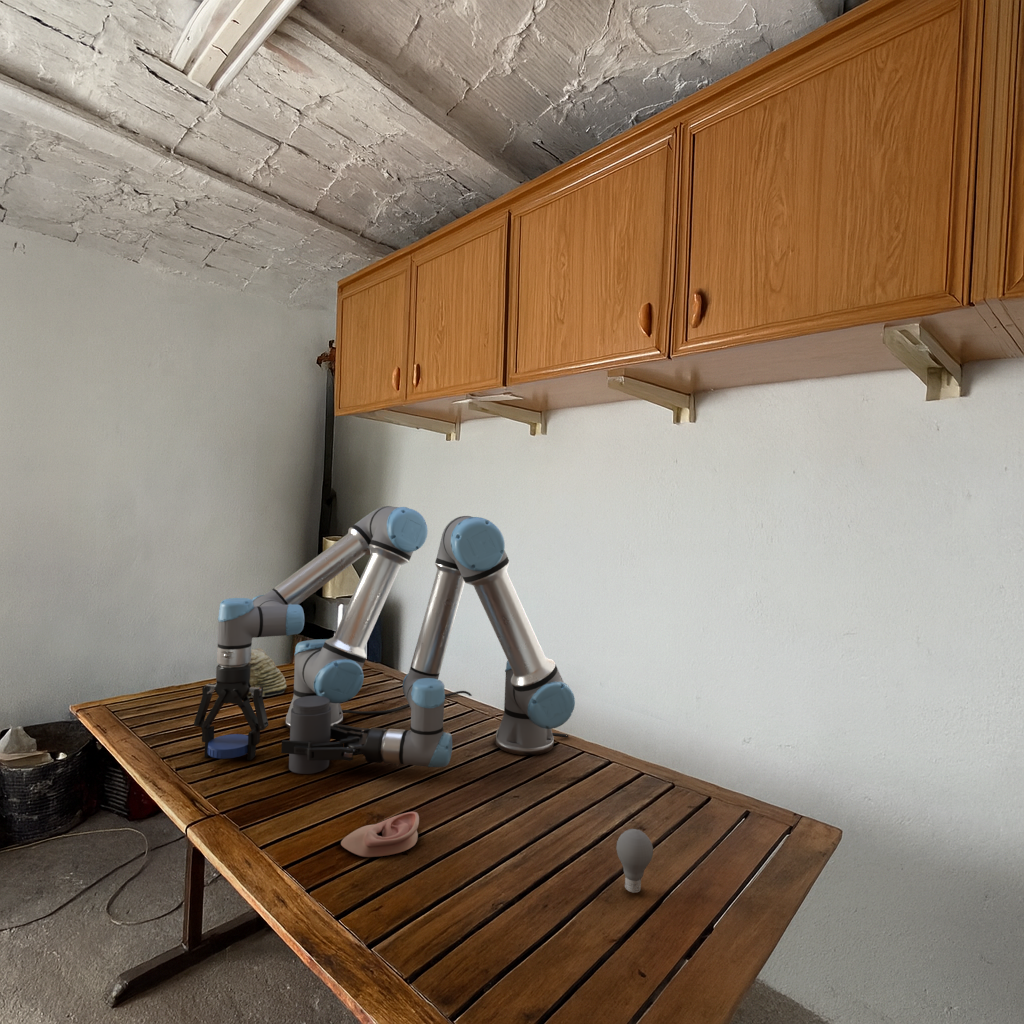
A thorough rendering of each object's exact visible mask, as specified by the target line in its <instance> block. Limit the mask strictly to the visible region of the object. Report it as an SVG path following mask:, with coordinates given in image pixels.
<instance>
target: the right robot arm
mask: <svg viewBox="0 0 1024 1024" xmlns="http://www.w3.org/2000/svg"><path fill="white" fill-rule="evenodd" d="M505 546H506V544H505V538H504V535H503V533H502V532H501V529H500V528H499V527H498V526H497V525H496V524H495V523H493V522H492V521H491V520H489V519H487V518H484V517H479V516H470V515H461V516H457V517H455V518H454V519H451V520H450V521H449V522H448V523H447V524H446V525H445V527H444V529H443V531H442V533H441V537H440V542H439V545H438V549H437V555H436V558H435V562H434V565H435V567H436V569H437V570H436V573H435V578H434V580H433V583H432V587H431V590H430V591H431V592H430V594H429V599H428V602H427V606H426V609H425V613H424V616H423V621H422V623H421V627H420V630H419V635H418V639H417V641H416V645H415V649H414V652H413V656H412V660H411V664H410V668H409V670H408V673H407V674H406V675H405V676H404V677H403V680H402V692H403V695H404V697H405V699H406V701H407V704H409V708H410V730H409V729H401V728H400V729H399V728H388V729H386V728H383V727H371V728H369V727H358V726H352V725H346V724H342V723H341V724H333V726H331V729H330V742H328V743H319V744H312V742H311V741H309V742H302V741H290V739H289V740H288V739H287V740H286V739H283V740H281V746H280V748H281V750H280V753H281V754H288V755H289V754H300V755H308V760H329V761H348V762H352V761H353V760H354V756H359V755H363V756H364V759H365V761H366V762H367V763H378V764H381V763H384V764H392V765H394V766H399V765H408V766H414V767H415V766H418V767H425V768H426V767H427V768H445V767H447V766H448V765H449V764H450V762H451V760H452V759H451V758H452V755H453V754H452V753H453V735H452V734H451V733H448V732H445V731H444V715H445V700H446V696H445V694H446V693H445V689H446V688H445V683H444V682H443V681H442V680H440V679H439V677H440V674H441V669H442V665H443V663H444V660H445V659H444V658H445V655H446V652H447V649H448V645H449V641H450V638H451V634H452V630H453V626H454V623H455V619H456V615H457V613H458V608H459V604H460V602H461V597H462V594H463V591H464V587H465V584H468V585H470V586H472V587H474V590H475V592H476V594H477V596H478V598H479V602H480V603H481V606H482V607H483V610H484V612H485V614H486V616H487V618H488V621H489V622H490V625H491V627H492V629H493V631H494V633H495V636H496V638H497V640H498V642H499V644H500V647H501V649H502V650H503V653H504V654H505V655H504V656H505V657H506V663H505V670H504V672H505V679H504V680H505V682H504V703H503V705H504V707H503V715H502V718H501V721H500V724H499V726H498V728H497V730H496V732H495V745H496V746H497V748H499V749H500V750H502V751H504V752H506V753H509V754H514V755H520V756H538V755H542V754H546V753H548V752H550V751H552V749H553V748H554V739H555V738H554V737H556V738H558V737H559V738H565V739H568V737H569V734H566V733H559V732H553V731H552V730H553V729H556V728H560V727H561V726H562V725H564V724H565V723H566V722H568V720H569V719H570V718H571V716H572V715H573V712H574V710H575V706H576V699H575V694H574V691H573V690H572V688H571V687H570V686H569V684H567V683H566V682H564V679H563V677H562V675H561V673H560V671H559V669H558V666H557V664H556V662H555V660H553V659H552V658H548V657H547V656H546V655H545V652H544V650H543V648H542V646H541V644H540V642H539V639H538V637H537V635H536V633H535V630H534V629H533V626H532V624H531V621H530V620H529V617H528V615H527V613H526V610H525V609H524V606H523V604H522V601H521V600H520V598H519V595H518V592H517V590H516V588H515V586H514V584H513V582H512V579H511V577H510V575H509V572H508V568H509V565H510V559H509V557H508V555H507V553H506V550H505V548H506V547H505ZM566 735H567V736H566ZM331 740H335V741H331Z"/></svg>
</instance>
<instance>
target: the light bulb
mask: <svg viewBox="0 0 1024 1024" xmlns="http://www.w3.org/2000/svg"><path fill="white" fill-rule="evenodd" d="M615 849H616V854H617V857H618V859H619V861H620V863H621V865H622V867H623V873H624V874H623V875H624V876H625V878H624V888H625V890H627V891H628V892H630V893H634V894H635V893H639V892H640V891H641V889H642V887H641V886H642V879H643V877H644V875H645V871H646V868H647V867H648V866H649V864H650V863H651V861H652V859H653V855H654V847H653V843H652V841H651V838H649V836H648V835H647V834H646V833H645V832H643V831H642V830H641V829H636V828H629V829H627V830H625V831H623V832H622V833H621V834H620V835H619V837H618V839H617V841H616V847H615Z"/></svg>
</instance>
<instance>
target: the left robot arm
mask: <svg viewBox="0 0 1024 1024" xmlns="http://www.w3.org/2000/svg"><path fill="white" fill-rule="evenodd" d="M428 531H429V530H428V525H427V522H426V519H425V518H424V516H423V515H422V514H421V513H420V512H419V511H417V510H415V509H413V508H409V507H407V506H390V505H387V506H385V505H384V506H380V507H378V508H375V509H374V510H373V511H371V512H370V513H368V514H367V515H365V516H363V517H362V518H361V519H360V520H358V521H357V522H356V523H355V524H353V525H351V526H350V527H349V528H348V532H347V533H346V534H345V535H344V536H343V537H341V538H340V539H338V540H337V541H336V542H334V543H333V544H332V545H330V546H329V547H328V548H327V549H325V550H324V551H322V552H321V553H320V554H318V555H317V556H316V557H314V558H313V559H311V560H310V561H309V562H307V563H306V564H304V565H303V566H302V567H300V568H299V569H298V570H296V571H295V572H294V573H292V574H291V575H290V576H288V577H287V578H286V579H284V580H282V581H281V582H280V583H279V584H277V585H276V586H274V587H273V588H272V589H270V590H269V591H268V592H265V594H260V595H256V596H254V597H253V598H248V597H232V598H225V599H223V600H222V601H221V602H220V603H219V610H218V616H217V646H216V647H217V648H216V649H217V650H216V664H217V666H216V668H215V669H216V670H215V684H212V683H207V684H206V685H203V686H202V688H201V691H202V693H201V694H202V696H201V700H200V702H199V706H198V709H197V712H196V715H195V718H194V722H193V725H194V727H199V728H200V729H201V742H202V743H204V754H203V755H204V758H209V757H210V756H209V755H208V753H207V751H208V743H209V741H211V740H212V739H214V738H215V726H214V725H213V723H214V720H215V719H216V717H217V716H218V714H219V712H220V711H221V709H222V707H223V706H224V705H225V704H233V705H236V706H238V708H239V709H240V710H241V713H242V714H243V716H244V718H245V720H246V722H247V724H248V726H249V728H250V731H249V732H248V733H247V735H248V753H247V754H246V756H247V758H246V759H247V761H251V760H253V759H254V758H256V754H257V753H256V751H257V745H258V744H259V743H260V741H261V731H264V730H265V729H266V728H267V727H269V724H270V723H269V720H268V715H267V711H266V706H265V703H264V697H262V694H263V687H261V686H260V687H258V688H256V687H251V685H250V671H251V665H250V664H249V662H250V661H251V649H252V641H253V639H254V638H256V639H257V638H267V637H283V636H287V637H288V636H292V635H298V634H300V633H301V632H302V631H303V630H304V628H305V627H304V626H305V613H304V608H303V607H302V605H300V604H301V603H302V602H304V601H305V600H306V599H308V598H309V597H310V596H312V595H313V594H314V593H316V592H317V591H318V590H320V589H321V588H323V587H324V586H325V585H326V584H328V583H329V582H330V581H332V580H333V579H334V578H335V577H337V576H338V575H339V574H341V573H342V572H343V571H345V570H347V569H348V567H350V566H351V565H353V564H354V563H355V562H356V561H358V560H359V559H361V558H362V557H363V556H369V558H368V561H367V563H366V565H365V568H364V569H363V571H362V574H361V576H360V578H359V580H358V582H357V584H356V587H355V589H354V591H353V594H352V596H351V598H350V600H349V602H348V604H347V607H346V608H345V611H344V613H343V616H342V617H341V620H340V622H339V624H338V627H337V628H336V631H335V632H334V635H333V637H330V638H323V639H322V638H320V639H307V640H303V641H299V642H297V644H296V645H295V650H294V653H293V654H294V655H293V656H294V672H293V673H294V674H293V695H292V696H293V697H292V699H291V702H290V704H289V708H288V711H287V713H286V715H285V726H286V728H287V729H289V730H290V722H291V709H292V708H293V702H294V700H296V699H298V698H301V697H305V696H323V697H326V698H328V699H329V701H330V704H329V706H330V707H331V726H333V724H341V725H342V723H343V722H344V714H353V715H381V714H387V713H388V714H389V713H394V712H397V711H400V710H403V709H406V708H408V707H409V708H410V706H409V703H407V704H404V705H402V706H401V705H400V706H399V707H396V708H392V709H384V710H373V711H372V710H371V711H365V710H363V711H361V710H360V711H358V710H349V709H342V706H341V704H342V703H346V702H348V701H350V700H352V699H353V698H354V697H356V695H357V694H359V692H360V690H361V689H362V687H363V684H364V680H365V675H364V670H363V667H364V666H365V665H364V664H365V662H366V660H367V658H368V656H367V654H366V651H365V648H366V646H367V643H368V641H369V639H370V636H371V635H372V632H373V630H374V628H375V625H376V623H377V621H378V619H379V616H380V614H381V612H382V610H383V608H384V605H385V603H386V601H387V599H388V596H389V595H390V592H391V589H392V587H393V584H394V583H395V580H396V578H397V576H398V574H399V571H400V570H401V567H402V566H404V565H405V564H408V563H409V562H410V560H411V558H412V556H413V554H414V552H416V551H418V550H419V549H421V548H422V547H423V546H424V545H425V543H426V540H427V538H428ZM249 692H250V693H251V696H252V702H253V706H254V707H253V706H252V704H251V702H250V701H251V700H250V698H248V696H247V695H248V693H249ZM214 693H216V695H217V698H216V700H215V702H214V704H213V706H212V707H211V709H210V711H209V713H208V710H209V706H210V703H211V700H212V697H213V694H214ZM458 694H466V695H467V696H469V697H472V696H473V694H472V693H471V692H469V691H466V690H458V691H453V692H450V693H445V697H452V696H454V695H458ZM253 708H254V709H253ZM207 713H208V714H207Z"/></svg>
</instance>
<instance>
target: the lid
mask: <svg viewBox="0 0 1024 1024" xmlns="http://www.w3.org/2000/svg"><path fill="white" fill-rule="evenodd" d="M207 753H208V755H209V757H210V758H214V759H219V760H220V759H223V760H225V759H226V760H227V759H234V758H240V757H243V756H245V755H247V754H248V734H243V733H229V734H225V735H220V736H219V735H218V736H215V737H214V739H212V740H211V741H209V743H208V751H207Z"/></svg>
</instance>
